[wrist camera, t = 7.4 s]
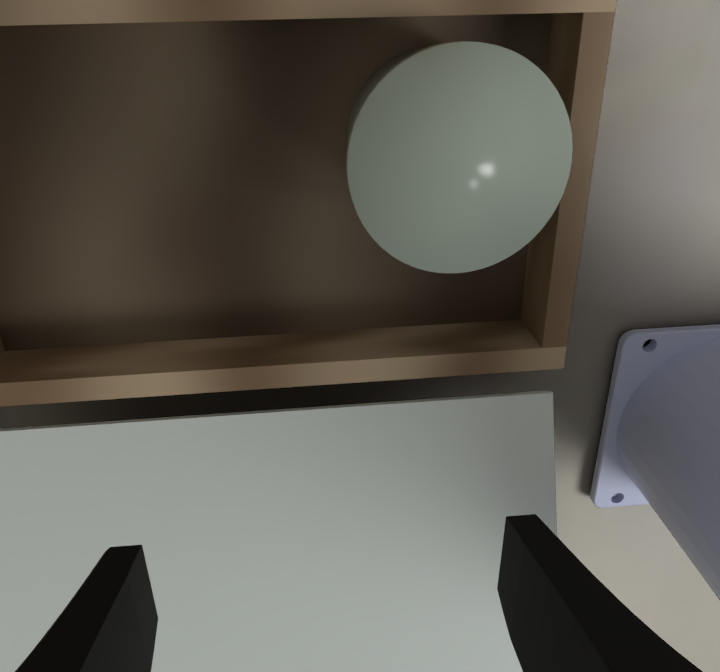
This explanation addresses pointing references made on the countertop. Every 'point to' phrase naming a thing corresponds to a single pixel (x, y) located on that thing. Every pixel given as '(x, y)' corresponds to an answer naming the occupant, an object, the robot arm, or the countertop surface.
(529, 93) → the glazed pot
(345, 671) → the lid
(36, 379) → the brown rectangular frame
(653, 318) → the countertop surface
